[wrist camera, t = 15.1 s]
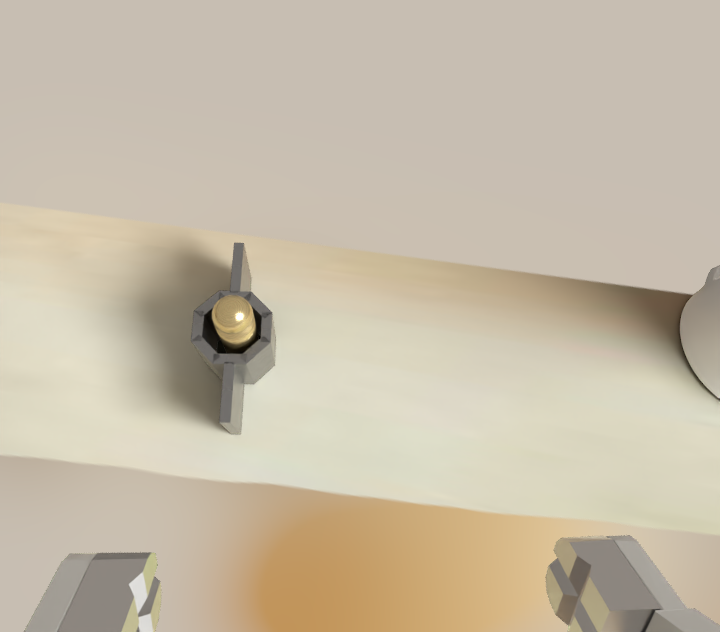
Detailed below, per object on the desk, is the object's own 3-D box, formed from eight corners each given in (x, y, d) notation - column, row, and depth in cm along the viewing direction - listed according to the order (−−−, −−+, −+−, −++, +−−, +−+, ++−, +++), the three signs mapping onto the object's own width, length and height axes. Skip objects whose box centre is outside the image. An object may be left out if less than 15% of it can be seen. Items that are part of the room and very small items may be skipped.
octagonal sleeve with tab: (278, 279, 47) (275, 244, 41) (271, 434, 42) (266, 422, 35) (215, 277, 47) (201, 241, 40) (200, 434, 41) (181, 422, 35)
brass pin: (262, 337, 45) (253, 289, 35) (259, 368, 44) (250, 328, 34) (229, 336, 45) (211, 287, 34) (226, 367, 44) (206, 326, 33)
